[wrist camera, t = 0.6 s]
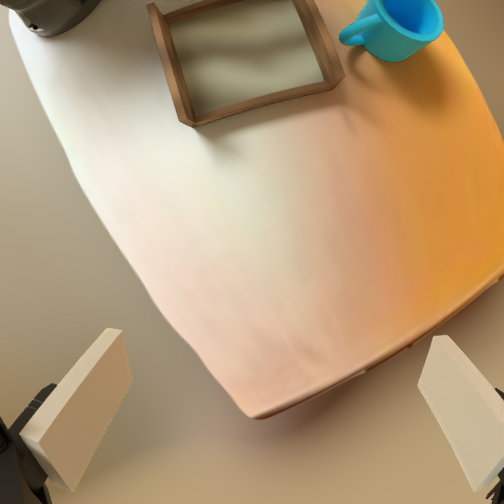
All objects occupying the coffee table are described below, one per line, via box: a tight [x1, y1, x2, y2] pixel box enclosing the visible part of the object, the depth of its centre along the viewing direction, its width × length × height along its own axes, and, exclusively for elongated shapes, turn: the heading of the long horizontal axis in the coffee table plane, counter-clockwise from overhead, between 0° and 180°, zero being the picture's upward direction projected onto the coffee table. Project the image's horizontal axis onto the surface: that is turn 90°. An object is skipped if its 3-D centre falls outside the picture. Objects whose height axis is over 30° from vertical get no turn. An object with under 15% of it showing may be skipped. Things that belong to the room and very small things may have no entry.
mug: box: [339, 0, 444, 62], centre depth 25 cm, size 12×8×8 cm
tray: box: [147, 0, 345, 128], centre depth 28 cm, size 15×17×6 cm
